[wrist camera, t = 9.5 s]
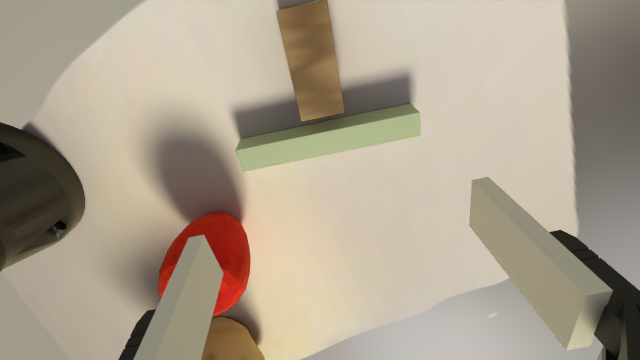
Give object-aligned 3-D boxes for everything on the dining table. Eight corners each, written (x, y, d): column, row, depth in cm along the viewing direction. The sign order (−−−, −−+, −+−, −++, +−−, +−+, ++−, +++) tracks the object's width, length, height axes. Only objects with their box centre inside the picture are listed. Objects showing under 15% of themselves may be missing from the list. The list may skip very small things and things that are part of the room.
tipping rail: (247, 158, 34) (243, 171, 31) (240, 138, 33) (235, 150, 30) (411, 125, 33) (420, 135, 30) (409, 103, 32) (419, 112, 29)
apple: (218, 263, 41) (194, 340, 32) (168, 220, 38) (125, 293, 28) (271, 233, 39) (262, 305, 30) (225, 184, 35) (198, 250, 26)
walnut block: (301, 121, 28) (275, 9, 24) (301, 108, 32) (278, 8, 27) (344, 112, 28) (326, -3, 24) (339, 100, 32) (323, -2, 27)
